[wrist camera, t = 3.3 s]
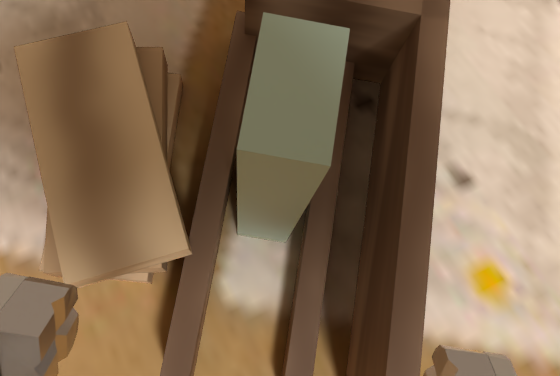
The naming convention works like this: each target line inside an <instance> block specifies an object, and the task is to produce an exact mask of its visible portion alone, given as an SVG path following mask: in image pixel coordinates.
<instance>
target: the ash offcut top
mask: <svg viewBox="0 0 560 376" xmlns="http://www.w3.org/2000/svg"><path fill="white" fill-rule="evenodd" d="M14 50H15V55H16V60H17V65H18V69H19V74H20V79H21V83H22V88H23V93H24V98H25V102H26V107H27V112H28V116H29V121H30V126H31V131H32V135H33V140H34V145H35V149H36V154H37V159H38V164H39V168H40V173H41V178H42V182H43V187H44V192H45V197H46V201H47V206H48V211H49V215H50V220H51V225H52V230H53V234H54V239H55V244H56V248H57V253H58V258H59V263H60V267H61V272H62V277H63V281H64V283H65V284H71V285H74V286H76V287H77V288H81V287H84V286H87V285H91V284H94V283H97V282H101V281H104V280H107V279H111V278H114V277H117V276H121V275H124V274H128V273H131V272H134V271H138V270H141V269H144V268H148V267H151V266H154V265H158V264H161V263H164V262H168V261H171V260H175V259H178V258H181V257H185V256H188V255H191V254H192V251H191V247H190V244H189V240H188V236H187V233H186V229H185V225H184V222H183V218H182V214H181V211H180V207H179V203H178V200H177V196H176V192H175V189H174V185H173V181H172V178H171V174H170V170H169V167H168V163H167V159H166V156H165V152H164V148H163V145H162V141H161V137H160V134H159V130H158V126H157V123H156V119H155V115H154V112H153V108H152V104H151V101H150V97H149V93H148V90H147V86H146V82H145V79H144V75H143V71H142V68H141V64H140V60H139V57H138V53H137V49H136V46H135V42H134V40H133V37H132V34H131V32H130V29H129V26H128V24H127V21H126V22H122V23H117V24H113V25H108V26H104V27H99V28H95V29H91V30H86V31H82V32H77V33H73V34H68V35H64V36H59V37H55V38H50V39H46V40H41V41H37V42H33V43H28V44H24V45H19V46H15V47H14Z"/></svg>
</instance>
